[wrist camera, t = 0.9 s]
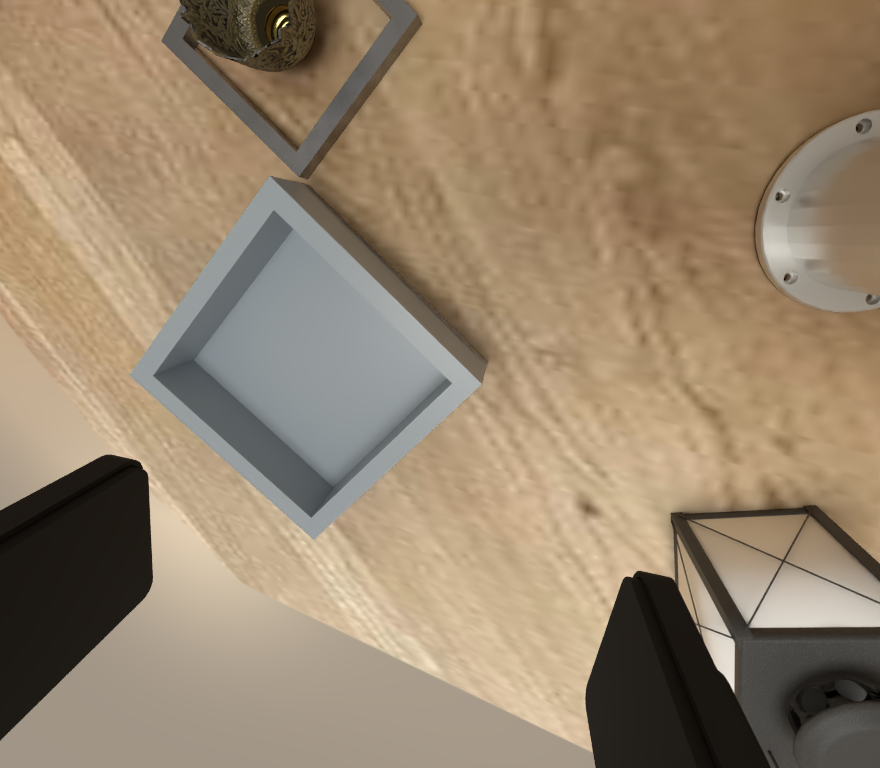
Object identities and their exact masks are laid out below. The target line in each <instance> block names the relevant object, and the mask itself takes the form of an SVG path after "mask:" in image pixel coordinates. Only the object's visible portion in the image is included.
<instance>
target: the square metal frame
mask: <svg viewBox="0 0 880 768" xmlns="http://www.w3.org/2000/svg"><path fill="white" fill-rule="evenodd" d="M373 1H374V2H375V3H376V4H377V5H378V6H379V7H380V8H381V9H382V10H383V11H384V12H385V13H386V14H387V16H388V17H389V18H390V19H391V20H390V21H389V22H388V24H387V25H386V27H385V28H384V29H383V31H382V32H381V34H380V35H379V37H378V38H377V39H376V41H375V42H374V44H373V45H372V46H371V48H370V49H369V51H368V52H367V53H366V55H365V56H364V58H363V59H362V60H361V62H360V63H359V65H358V66H357V67H356V69H355V70H354V72H353V73H352V74H351V76H350V77H349V79H348V80H347V81H346V83H345V84H344V86H343V87H342V88H341V90H340V91H339V93H338V94H337V96H336V97H335V98H334V100H333V101H332V103H331V104H330V105H329V107H328V108H327V110H326V111H325V112H324V114H323V115H322V117H321V118H320V119H319V121H318V122H317V124H316V125H315V126H314V128H313V129H312V131H311V132H310V133H309V135H308V136H307V138H306V139H305V140H304V142H303V143H302V145H301V146H300V147H299V149H298V148H297V147H296V146H295V145H294V144H293V143H292V142H291V141H290V140H289V139H288V138H287V137H286V136H285V135H284V134H283V133H282V132H281V131H280V130H279V129H278V128H277V127H276V126H275V125H274V124H273V123H272V122H271V121H270V120H269V119H268V118H267V117H266V116H265V115H264V114H263V113H262V112H261V111H260V110H259V109H258V108H257V107H256V106H255V105H254V104H253V103H252V102H251V101H250V100H249V99H248V98H247V97H246V96H245V95H244V94H243V93H242V92H241V91H240V90H239V89H238V88H237V87H236V86H235V85H234V84H233V83H232V82H231V81H230V80H229V79H228V78H227V77H226V76H225V75H224V74H223V73H222V72H221V71H220V70H219V69H218V68H217V67H216V66H215V65H214V64H213V63H212V62H211V61H210V60H209V59H208V58H207V57H206V56H205V55H204V54H203V53H202V52H201V51H200V50H199V49H198V48H197V47H196V46H197V44H198V42H197V41H196V40H195V39H194V37H193V35H192V33H191V32H192V27H191V26H190V25H189V24H188V23H186V22H185V21H184V20H183V19H182V18H181V17H180V15H179V13H181V12H182V11H185V10H186V9H185V8H184V7H183V6H182V5H181V6H180V8H179V10H178V11H177V13H176V15H175V17H174V19H173V20H172V22H171V24H170V26H169V28H168V30H167V31H166V33H165V35H164V37H163V39H162V42H163V43H164V44H165V45H166V46H167V47H168V48H169V49H170V50H171V51H172V52H173V53H174V54H175V55H176V56H177V57H178V58H179V59H180V60H181V61H182V62H183V63H184V64H185V65H186V66H187V67H188V68H189V69H190V70H191V71H192V72H193V73H194V74H195V75H196V76H197V77H198V78H199V79H200V80H201V81H202V82H203V83H204V84H205V85H206V86H207V87H208V88H209V89H210V90H212V91H213V92H214V93H215V94H216V95H217V96H218V97H219V98H220V99H221V100H222V101H223V102H224V103H225V104H226V105H227V106H228V107H229V108H230V109H231V110H232V111H233V112H234V113H235V114H236V115H237V116H238V117H239V118H240V119H241V120H242V121H243V122H244V123H245V124H246V125H247V126H248V127H249V128H250V129H251V130H252V131H253V132H254V133H255V134H256V135H257V136H258V137H259V138H260V139H261V140H262V141H263V142H264V143H265V144H266V145H267V146H268V147H269V148H270V149H271V150H272V151H273V152H274V153H275V154H276V155H277V156H278V157H279V158H280V159H281V160H282V161H283V162H284V163H285V164H286V165H287V166H288V167H289V168H290V169H291V170H292V171H293V172H294V173H295V174H296V175H297V176H299V177H301V178H305V179H308V178H309V176H310V175H311V173H312V172H313V171H314V169H315V168H316V167H317V165H318V164H319V163H320V161H321V160H322V159H323V157H324V156H325V154H326V153H327V152H328V150H329V149H330V148H331V146H332V145H333V144H334V142H335V141H336V140H337V138H338V137H339V136H340V134H341V133H342V131H343V130H344V129H345V127H346V126H347V125H348V123H349V122H350V121H351V119H352V118H353V117H354V115H355V114H356V112H357V111H358V110H359V108H360V107H361V106H362V104H363V103H364V102H365V100H366V99H367V98H368V96H369V95H370V94H371V92H372V91H373V89H374V88H375V87H376V85H377V84H378V83H379V81H380V80H381V79H382V77H383V76H384V75H385V73H386V72H387V71H388V69H389V68H390V66H391V65H392V64H393V62H394V61H395V60H396V58H397V57H398V56H399V54H400V53H401V52H402V50H403V49H404V47H405V46H406V45H407V43H408V42H409V41H410V39H411V38H412V37H413V35H414V34H415V33H416V31H417V30H418V29H419V27H420V26H421V21H420V19H419V17H418V15H417V14H416V13H415V12H414V10H413V9H412V8H411V7H410V6H409V5H408V4H407V3H406V2H405V1H404V0H373Z"/></svg>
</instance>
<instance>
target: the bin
mask: <svg viewBox="0 0 880 768" xmlns="http://www.w3.org/2000/svg"><path fill="white" fill-rule="evenodd" d="M487 363H488V362H487V361H486V360H484V359H483V358H482V357H481V356H480V355H479V354H478V353H477V352H476V351H475V350H474V349H473V348H472V347H471V346H470V345H469V344H468V343H467V342H466V341H465V340H464V339H463V338H462V337H461V336H460V335H459V334H458V333H457V332H456V331H455V330H454V329H453V328H452V327H451V326H450V325H449V324H448V323H447V322H446V321H445V320H444V319H443V318H442V317H441V316H440V315H439V314H438V313H437V312H436V311H435V310H434V309H433V308H432V307H431V306H430V305H429V304H428V303H427V302H426V301H425V300H424V299H423V298H422V297H421V296H420V295H419V294H418V293H417V292H416V291H415V290H414V289H413V288H412V287H411V286H410V285H409V284H408V283H407V282H406V281H405V280H404V279H403V278H402V277H401V276H400V275H399V274H398V273H397V272H395V271H394V270H393V269H392V268H391V267H390V266H389V265H388V264H387V263H386V262H385V261H384V260H383V259H382V258H381V257H380V256H379V255H378V254H377V253H376V252H375V251H374V250H373V249H372V248H371V247H370V246H369V245H368V244H367V243H366V242H365V241H364V240H363V239H362V238H361V237H360V236H359V235H358V234H357V233H356V232H355V231H354V230H353V229H352V228H351V227H350V226H349V225H348V224H347V223H346V222H345V221H344V220H343V219H342V218H341V217H340V216H339V215H338V214H337V213H336V212H335V211H334V210H333V209H332V208H331V207H330V206H329V205H328V204H327V203H326V202H325V201H324V200H323V199H322V198H321V197H320V196H319V195H318V194H317V193H316V192H315V191H314V190H313V189H312V188H311V187H310V186H309V185H306V184H302V183H298V182H293V181H289V180H285V179H281V178H276V177H272V176H269V178H268V179H267V180H266V182H265V183H264V185H263V186H262V187H261V189H260V190H259V192H258V193H257V195H256V196H255V197H254V199H253V200H252V202H251V203H250V205H249V206H248V207H247V209H246V210H245V212H244V213H243V214H242V216H241V217H240V219H239V220H238V222H237V223H236V224H235V226H234V227H233V229H232V230H231V232H230V233H229V234H228V236H227V237H226V239H225V240H224V241H223V243H222V244H221V246H220V247H219V249H218V250H217V251H216V253H215V254H214V256H213V257H212V259H211V260H210V261H209V263H208V264H207V266H206V267H205V268H204V270H203V271H202V273H201V274H200V276H199V277H198V278H197V280H196V281H195V283H194V284H193V286H192V287H191V288H190V290H189V291H188V293H187V294H186V295H185V297H184V298H183V300H182V301H181V303H180V304H179V305H178V307H177V308H176V310H175V311H174V313H173V314H172V315H171V317H170V318H169V320H168V321H167V322H166V324H165V325H164V327H163V328H162V330H161V331H160V332H159V334H158V335H157V337H156V338H155V340H154V341H153V342H152V344H151V345H150V347H149V348H148V349H147V351H146V352H145V354H144V355H143V357H142V358H141V359H140V361H139V362H138V364H137V365H136V367H135V368H134V369H133V371H132V372H131V374H130V376H131V377H132V378H133V379H134V380H135V381H136V382H137V383H139V384H140V385H141V386H142V387H143V388H144V389H145V390H146V391H148V392H149V393H150V394H151V395H152V396H153V397H154V398H155V399H157V400H158V401H159V402H160V403H161V404H162V405H163V406H164V407H166V408H167V409H168V410H169V411H170V412H171V413H172V414H173V415H174V416H176V417H177V418H178V419H179V420H180V421H181V422H182V423H183V424H185V425H186V426H187V427H188V428H189V429H190V430H191V431H192V432H194V433H195V434H196V435H197V436H198V437H199V438H200V439H201V440H203V441H204V442H205V443H206V444H207V445H208V446H209V447H210V448H212V449H213V450H214V451H215V452H216V453H217V454H218V455H219V456H220V457H222V458H223V459H224V460H225V461H226V462H227V463H228V464H229V465H231V466H232V467H233V468H234V469H235V470H236V471H237V472H238V473H240V474H241V475H242V476H243V477H244V478H245V479H246V480H247V481H249V482H250V483H251V484H252V485H253V486H254V487H255V488H256V489H257V490H259V491H260V492H261V493H262V494H263V495H264V496H265V497H266V498H268V499H269V500H270V501H271V502H272V503H273V504H274V505H275V506H277V507H278V508H279V509H280V510H281V511H282V512H283V513H284V514H286V515H287V516H288V517H289V518H290V519H291V520H292V521H293V522H295V523H296V524H297V525H298V526H299V527H300V528H301V529H302V530H303V531H305V532H306V533H307V534H308V535H309V536H310V537H311V538H312V539H315V538H316V537H317V536H318V535H320V534H321V533H322V532H323V531H324V530H325V529H326V528H327V527H328V526H329V525H330V524H331V523H332V522H334V521H335V520H336V519H337V518H338V517H339V516H340V515H341V514H342V513H343V512H344V511H345V510H347V509H348V508H349V507H350V506H351V505H352V504H353V503H354V502H355V501H356V500H357V499H358V498H359V497H361V496H362V495H363V494H364V493H365V492H366V491H367V490H368V489H369V488H370V487H371V486H372V485H374V484H375V483H376V482H377V481H378V480H379V479H380V478H381V477H382V476H383V475H384V474H385V473H386V472H388V471H389V470H390V469H391V468H392V467H393V466H394V465H395V464H396V463H397V462H398V461H399V460H401V459H402V458H403V457H404V456H405V455H406V454H407V453H408V452H409V451H410V450H411V449H412V448H414V447H415V446H416V445H417V444H418V443H419V442H420V441H421V440H422V439H423V438H424V437H425V436H426V435H428V434H429V433H430V432H431V431H432V430H433V429H434V428H435V427H436V426H437V425H438V424H439V423H441V422H442V421H443V420H444V419H445V418H446V417H447V416H448V415H449V414H450V413H451V412H452V411H453V410H455V409H456V408H457V407H458V406H459V405H460V404H461V403H462V402H463V401H464V400H465V399H466V398H468V397H469V396H470V395H471V394H472V393H473V392H474V391H475V390H476V389H477V388H478V387H479V386H480V385H482V382H483V378H484V374H485V370H486V366H487Z"/></svg>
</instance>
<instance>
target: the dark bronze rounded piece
mask: <svg viewBox="0 0 880 768" xmlns="http://www.w3.org/2000/svg"><path fill="white" fill-rule="evenodd" d="M180 4H181V5H182V6H183V7H184V8H185V9H186V10H185V11H182V12H181V13H179V15H180V17H181V18H182V19H183V20H184V21H185V22H186V23H188V24H189V25H190V26H191V27H192V32H191V33H192V35H193V37H194V39H195V40H196V41H197V42H198V43H200V44H201V45H202V46H204V47H205V48H207V49H208V50H210V51H212V52H213V53H214V54H215V55H217V56H220V57H223V58H227V59H230V60H232V61H235V62H238V63H240V64H243V65H246V66H248V67H251V68H254V69H258V70H262V71H268V72H280V71H284V70H287V69H290V68H292V67H294V66H295V65H297V64H298V63H300V62H301V61H302V60H303V59H304V58H305V57H306V56H307V54H308V53H309V51H310V50H311V47H312V44H313V40H314V36H315V31H316V11H315V5H314V1H313V0H180Z"/></svg>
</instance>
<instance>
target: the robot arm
mask: <svg viewBox="0 0 880 768" xmlns="http://www.w3.org/2000/svg"><path fill="white" fill-rule="evenodd" d="M856 126H857V127H858V131H856ZM777 193H778V194H779V196H780V197H779V199H778V200H777V201H776V199H775V197H776V194H777ZM755 244H756V249H757V253H758V258H759V261H760V263H761V266H762V268H763V270H764V272H765V274H766V276H767V277H768V278H769V279H770V281H771V282H772V283H773V284H774V286H775V287H776V288H777V289H778V290H780V291H781V292H782V293H783V294H785V295H786V296H787V297H789V298H790V299H792V300H794V301H796V302H798V303H801V304H803V305H805V306H809V307H812V308H816V309H819V310H825V311H831V312H838V313H839V312H861V311H868V310H873V309H877V308H880V109H879V110H873V111H867V112H864V113H861V114H858V115H855V116H852V117H849V118H847V119H844V120H842V121H840V122H838V123H835V124H833V125H831V126H829V127H827V128H825V129H824V130H822V131H820V132H819V133H817V134H816V135H814V136H813V137H811V138H810V139H808V140H807V141H806V142H805V143H803V144H802V145H801V146H800V147H799V148H798V149H797V150H796V151H794V152H793V153H792V154H791V155H790V156H789V157H788V159H787V160H786V161H785V162H784V163H783V165H782V166H781V167H780V168H779V169H778V171H777V172H776V174H775V175H774V177H773V179H772V180H771V182H770V184H769V185H768V187H767V189H766V191H765V194H764V196H763V199H762V201H761V204H760V206H759V210H758V215H757V220H756V226H755ZM786 274H787V278H786V280H784V276H785V275H786ZM867 295H868V296H867ZM866 297H867V298H866ZM152 582H153V570H152V549H151V527H150V505H149V483H148V474H147V472H146V471H145V470H143V467H142V465H141V463H140V462H138V461H137V460H133V459H128V458H124V457H119V456H115V455H104V456H101V457H100V458H98V459H96V460H94V461H92V462H90V463H88V464H87V465H85V466H83V467H81V468H79V469H77V470H75V471H73V472H72V473H70V474H68V475H66V476H64V477H62V478H60V479H58V480H57V481H55V482H53V483H51V484H49V485H47V486H45V487H43V488H41V489H40V490H38V491H36V492H34V493H32V494H30V495H29V496H27V497H25V498H23V499H21V500H19V501H17V502H16V503H13V504H12V505H10V506H8V507H6V508H4V509H3V510H0V740H1V739H2V738H3V737H4V736H5V735H6V734H7V733H8V732H9V731H10V730H11V729H12V728H13V727H14V726H15V725H16V724H17V723H18V722H20V721H21V720H22V719H23V718H24V717H25V715H27V713H29V712H30V711H31V710H32V709H33V707H35V706H36V705H37V704H38V703H39V702H40V701H41V700H42V699H43V698H44V697H45V696H46V695H47V694H48V693H49V692H50V691H51V690H52V689H53V688H54V687H55V686H56V685H57V684H58V683H59V682H60V681H61V680H62V679H63V678H64V677H65V676H66V675H67V674H68V673H69V672H70V671H71V670H72V669H73V668H74V667H75V666H76V665H77V664H78V663H79V662H80V661H81V660H82V659H83V658H84V657H85V656H86V655H87V654H88V653H89V652H90V651H91V650H92V649H93V648H95V646H96V645H98V643H100V642H101V641H102V640H103V639H104V637H106V636H107V635H108V634H109V633H110V632H111V631H112V630H113V629H114V628H115V627H116V626H117V625H118V624H119V623H120V622H121V621H122V620H123V619H124V618H125V617H126V616H127V615H128V614H129V613H130V612H131V611H132V610H133V609H134V608H135V607H136V606H137V605H138V604H139V603H140V602H141V601H142V600H143V599H144V598H145V597H146V595H147V594H148V592H149V590H150V588H151V585H152ZM585 700H586V711H587V718H588V724H589V730H590V736H591V742H592V748H593V754H594V760H595V766H596V768H771V767H770V765H769V762H768V760H767V758H766V756H765V754H764V752H763V750H762V748H761V746H760V744H759V742H758V740H757V738H756V736H755V734H754V732H753V730H752V728H751V726H750V724H749V722H748V720H747V718H746V716H745V714H744V712H743V710H742V708H741V706H740V704H739V702H738V700H737V698H736V696H735V694H734V692H733V690H732V688H731V686H730V684H729V682H728V681H727V679H726V678H725V676H724V675H723V674H722V673H721V672H720V671H719V670H717V668H716V666H715V664H714V662H713V660H712V657H711V655H710V653H709V651H708V649H707V647H706V645H705V643H704V641H703V639H702V637H701V635H700V633H699V631H698V628H697V626H696V624H695V622H694V620H693V618H692V616H691V614H690V612H689V610H688V608H687V606H686V604H685V602H684V599H683V597H682V595H681V593H680V591H679V589H678V587H677V585H676V583H675V582H674V580H673V579H672V578H670V577H666V576H661V575H657V574H652V573H647V572H643V571H637V572H636V573H635V574H634V576H633V578H632V577H625V578H624V579H623V581H622V584H621V587H620V590H619V593H618V595H617V598H616V601H615V604H614V607H613V610H612V613H611V616H610V619H609V622H608V625H607V628H606V631H605V634H604V637H603V639H602V642H601V645H600V648H599V651H598V654H597V657H596V660H595V663H594V666H593V669H592V672H591V675H590V678H589V681H588V684H587V688H586V698H585Z"/></svg>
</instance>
